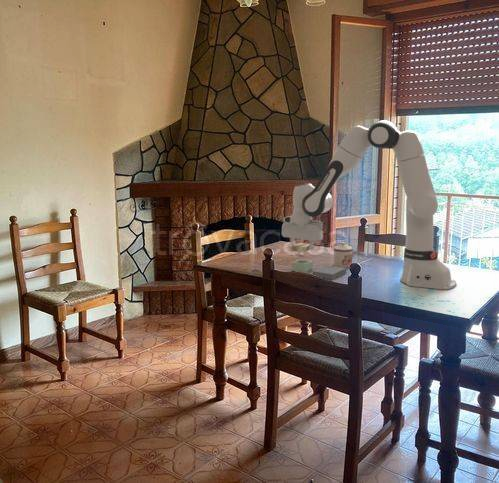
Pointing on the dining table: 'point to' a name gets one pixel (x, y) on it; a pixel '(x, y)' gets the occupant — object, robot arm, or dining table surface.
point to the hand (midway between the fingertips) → (301, 248)
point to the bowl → (302, 266)
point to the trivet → (330, 272)
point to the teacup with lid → (343, 255)
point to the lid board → (300, 247)
